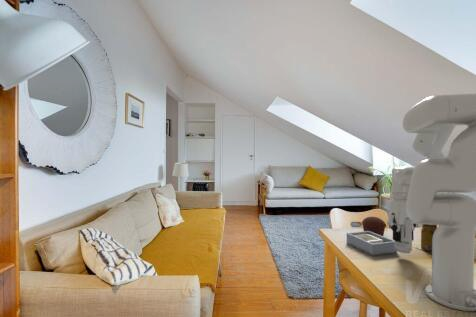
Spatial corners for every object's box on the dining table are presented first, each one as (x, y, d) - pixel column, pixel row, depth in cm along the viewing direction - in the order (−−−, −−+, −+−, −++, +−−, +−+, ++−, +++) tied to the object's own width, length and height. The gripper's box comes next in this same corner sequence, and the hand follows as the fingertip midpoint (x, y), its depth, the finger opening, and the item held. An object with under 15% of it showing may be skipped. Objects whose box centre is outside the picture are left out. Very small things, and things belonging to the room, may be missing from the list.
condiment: (428, 246, 118) (429, 221, 117) (446, 253, 109) (447, 226, 109) (415, 247, 116) (415, 222, 116) (432, 255, 108) (433, 227, 108)
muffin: (356, 234, 136) (356, 215, 135) (371, 231, 140) (371, 214, 140) (376, 241, 125) (376, 221, 125) (391, 238, 129) (391, 219, 129)
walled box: (396, 253, 110) (397, 241, 110) (372, 256, 106) (372, 244, 106) (368, 240, 125) (368, 230, 125) (346, 243, 122) (346, 233, 122)
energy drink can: (392, 250, 104) (392, 214, 105) (397, 247, 108) (397, 212, 109) (409, 254, 100) (409, 216, 100) (413, 251, 104) (413, 215, 104)
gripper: (410, 195, 111) (410, 236, 110) (378, 196, 106) (378, 239, 106) (427, 197, 104) (427, 241, 103) (394, 198, 99) (394, 244, 98)
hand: (403, 239), depth 104 cm, fingers closed on energy drink can, 6 cm apart
